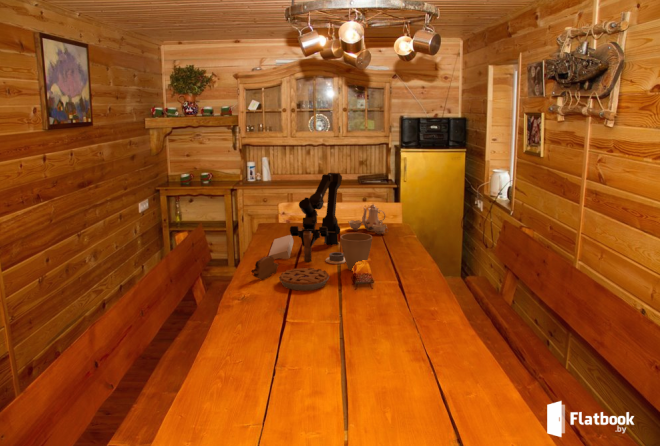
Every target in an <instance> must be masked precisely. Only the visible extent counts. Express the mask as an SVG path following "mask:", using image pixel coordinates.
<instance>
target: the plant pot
mask: <svg viewBox="0 0 660 446" xmlns="http://www.w3.org/2000/svg"><path fill="white" fill-rule="evenodd" d="M339 238H340V244H341V249H342V253H343V254H344V258H345V261H346V263H345V264H346V266H347V269H348V271H350V270H352V268H353V266H354V265H355V263H356V262H358V261H362V260H367V261H368V259H369V256H370V253H371V248H372V242H373V236H372V235H371V234H367V233H364V232H363V233H362V232H348V233H345V234H342V235H340V237H339Z"/></svg>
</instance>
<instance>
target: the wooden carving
mask: <svg viewBox="0 0 660 446" xmlns="http://www.w3.org/2000/svg"><path fill="white" fill-rule="evenodd" d="M254 266H255V267H254V269H252V270H250V271H251V273H253V275H252V276H253V277H255V278H257V279H259V280H266V279H268V278H270V277H271V276H272V275H273V274H274V275H275V274H276V273H277V271H278V268H279V263H278V262H275V259H274V257H271V256H270V257H269V256H263V257H261V258H260V259H258V260H257V261H256V262H255V264H254Z"/></svg>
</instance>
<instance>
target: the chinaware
mask: <svg viewBox="0 0 660 446" xmlns="http://www.w3.org/2000/svg"><path fill="white" fill-rule="evenodd" d="M367 209H368V217H367ZM363 210H364V211H363V215H362V219H361V220H360V219H358V220H353V219H352V220H349V221H347V222H348V224H349V227H350V228H351V229H352V230H353V231H359V229H360V228H361V226H362V225H363V226H364V228H365V230H366V231H368V232H375V233H376V235H383V234H385V233H388V232H389V228H388V226H387V224H385V223H384V224H383V221H385V220H386V216H387V215H386V213H385V211H383V210H379V207H377V206H376V204H374V203H373V204H372V205H371V206H370V207H368V208H366V207H365V206H364V207H363ZM380 212H381V213H383V215H384V217H383V218H382V219H379V215H378V214H380ZM386 229H387V231H385V230H386Z"/></svg>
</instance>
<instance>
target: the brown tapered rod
mask: <svg viewBox="0 0 660 446" xmlns="http://www.w3.org/2000/svg"><path fill="white" fill-rule="evenodd" d="M311 240H312V233H311V231H304V246H303V255H304V256H303V261H304V262H305V263H311V262H312V247H311Z"/></svg>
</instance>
